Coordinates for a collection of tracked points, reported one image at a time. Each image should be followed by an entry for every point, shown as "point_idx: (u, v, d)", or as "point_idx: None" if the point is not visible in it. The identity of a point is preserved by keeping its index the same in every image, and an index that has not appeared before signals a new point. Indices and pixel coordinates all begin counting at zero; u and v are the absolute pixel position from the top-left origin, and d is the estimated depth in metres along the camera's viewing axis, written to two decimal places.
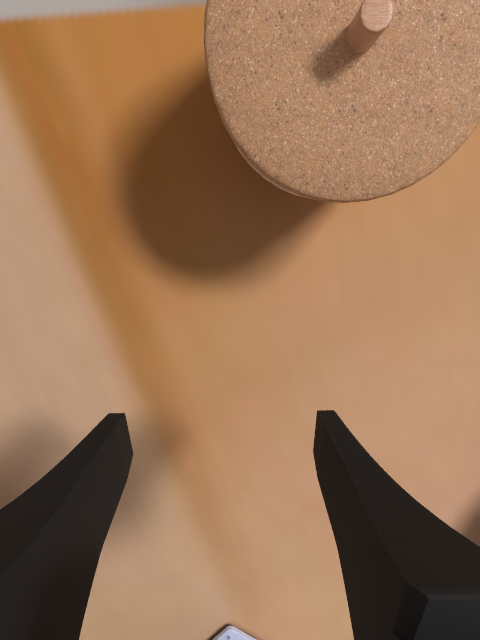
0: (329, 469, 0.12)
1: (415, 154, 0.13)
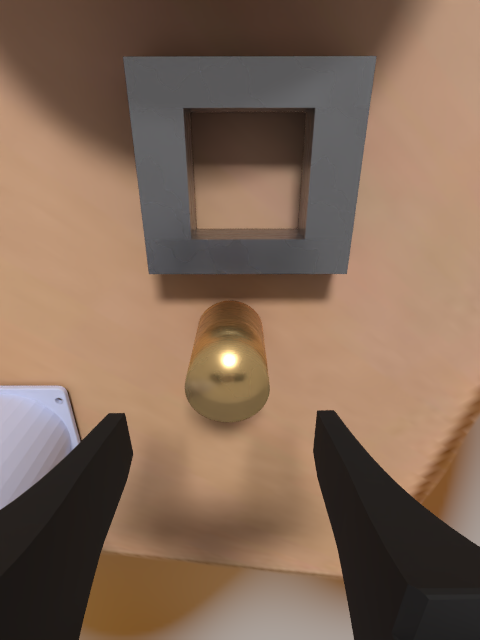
0: (329, 469, 0.12)
1: None
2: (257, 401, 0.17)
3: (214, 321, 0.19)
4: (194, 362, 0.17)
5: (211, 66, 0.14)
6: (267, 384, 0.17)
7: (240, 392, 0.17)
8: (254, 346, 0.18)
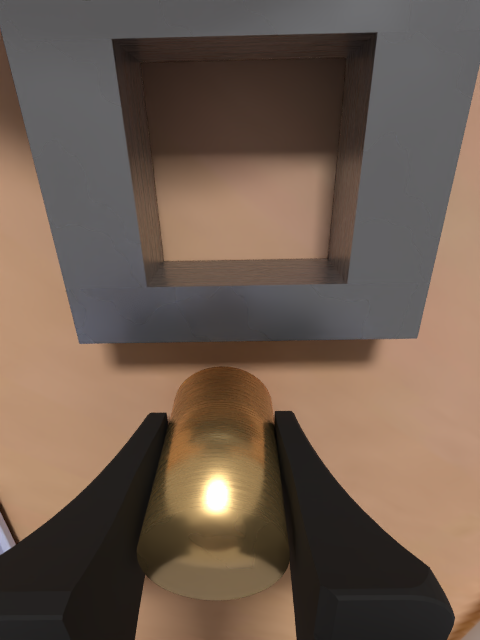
0: (282, 470, 0.12)
1: None
2: (267, 573, 0.10)
3: (193, 413, 0.12)
4: (152, 514, 0.09)
5: None
6: (285, 550, 0.09)
7: (238, 562, 0.09)
8: (261, 470, 0.10)
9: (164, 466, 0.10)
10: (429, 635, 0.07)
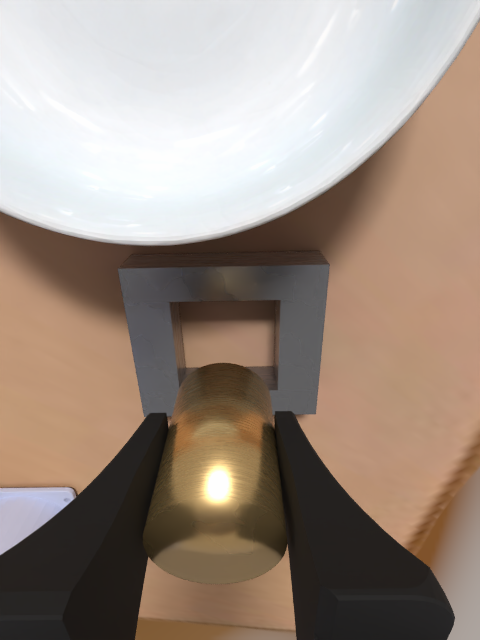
0: (282, 470, 0.12)
1: None
2: (266, 558, 0.10)
3: (196, 408, 0.12)
4: (157, 503, 0.10)
5: (191, 273, 0.17)
6: (283, 537, 0.10)
7: (238, 548, 0.10)
8: (260, 462, 0.11)
9: (168, 458, 0.11)
10: (429, 635, 0.07)
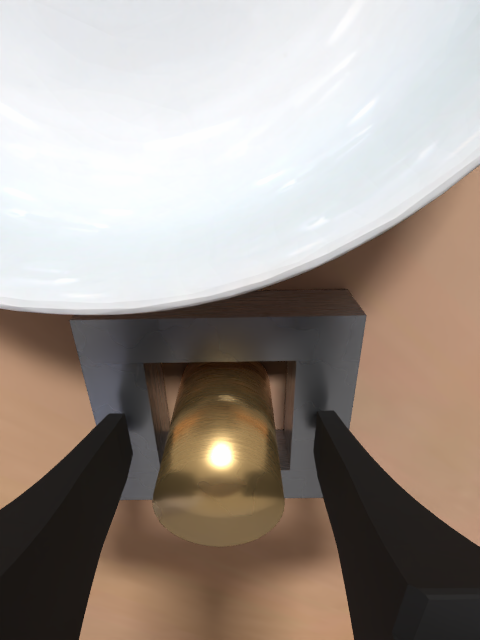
0: (329, 469, 0.12)
1: None
2: (265, 520, 0.11)
3: (200, 386, 0.13)
4: (166, 466, 0.11)
5: (173, 327, 0.12)
6: (281, 498, 0.11)
7: (240, 508, 0.11)
8: (260, 432, 0.12)
9: (175, 429, 0.12)
10: None
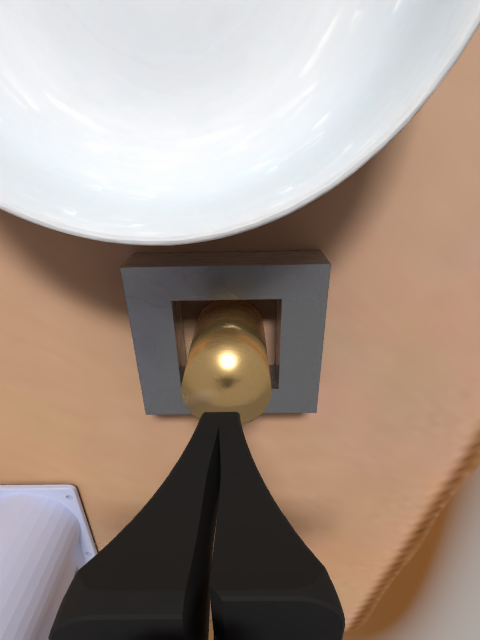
0: None
1: None
2: (259, 404, 0.16)
3: (212, 320, 0.18)
4: (190, 364, 0.16)
5: (193, 272, 0.17)
6: (269, 386, 0.16)
7: (240, 395, 0.16)
8: (254, 345, 0.16)
9: (195, 345, 0.17)
10: (322, 636, 0.07)
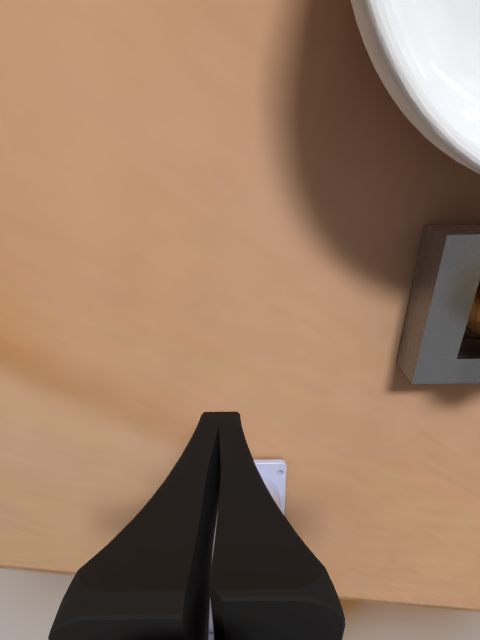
0: None
1: None
2: None
3: None
4: None
5: None
6: None
7: None
8: None
9: None
10: (322, 636, 0.07)
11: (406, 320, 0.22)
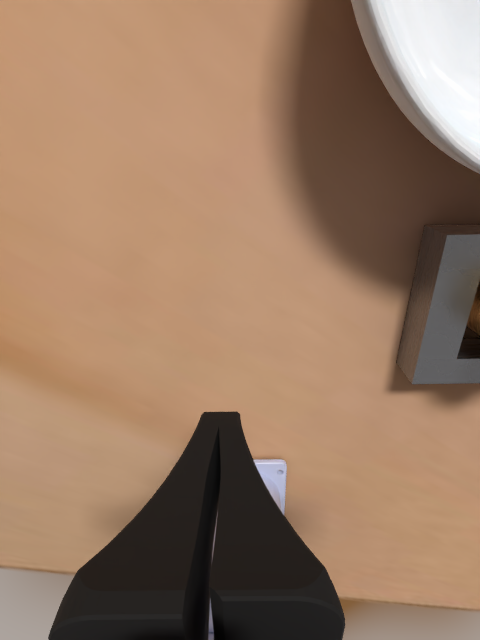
0: None
1: None
2: None
3: None
4: None
5: None
6: None
7: None
8: None
9: None
10: (322, 636, 0.07)
11: (406, 320, 0.22)
